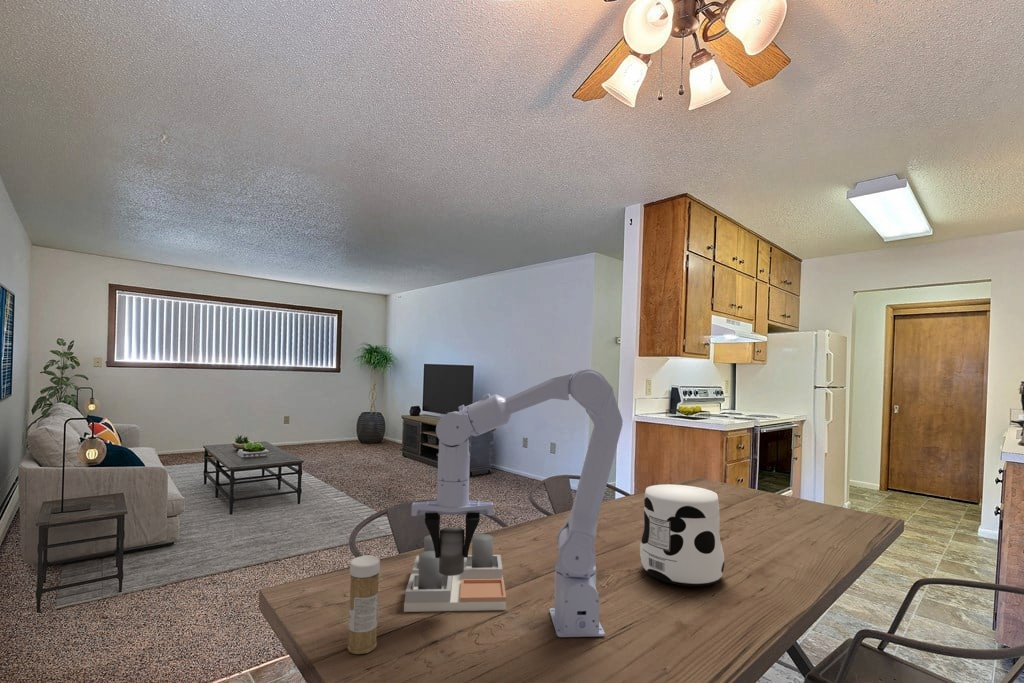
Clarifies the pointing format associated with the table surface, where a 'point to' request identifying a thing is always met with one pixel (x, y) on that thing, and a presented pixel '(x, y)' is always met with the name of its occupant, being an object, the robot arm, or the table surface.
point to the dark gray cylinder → (451, 551)
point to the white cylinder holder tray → (457, 581)
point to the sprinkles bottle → (363, 604)
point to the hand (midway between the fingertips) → (451, 555)
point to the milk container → (682, 535)
